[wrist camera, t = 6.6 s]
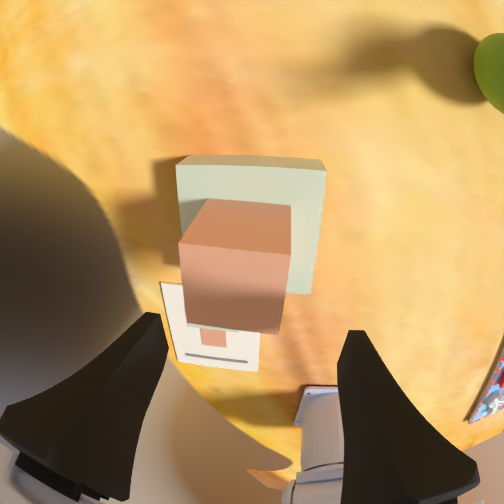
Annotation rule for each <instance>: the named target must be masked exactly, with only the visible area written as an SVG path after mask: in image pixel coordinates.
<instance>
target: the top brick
mask: <svg viewBox="0 0 504 504" xmlns="http://www.w3.org/2000/svg"><path fill="white" fill-rule="evenodd" d="M178 246H179V257H180V268H181V277H182V287H183V295H184V304H185V312H186V320H187V323H191V324H198V325H204V326H211V327H218V328H225V329H233V330H240V331H248V332H257V333H266V334H275V335H279V330H280V324H281V318H282V312H283V305H284V299H285V293H286V286H287V280H288V273H289V266H290V259H291V206H288V205H279V204H269V203H258V202H248V201H236V200H224V199H211V198H208V200H207V201H206V202H205V204H204V205H203V207H202V208H201V210H200V211H199V213H198V214H197V216H196V217H195V219H194V220H193V222H192V223H191V225H190V226H189V228H188V229H187V231H186V232H185V234H184V235H183V237H182V238H181V240H180V241H179V243H178Z"/></svg>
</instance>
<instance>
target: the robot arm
mask: <svg viewBox="0 0 504 504" xmlns="http://www.w3.org/2000/svg"><path fill="white" fill-rule="evenodd" d="M168 349H169V347H168V343H167V339H166V336H165V332H164V328H163V324H162V320H161V316H160V314H157V313H151V312H145V313H144V314H143V315H142V316H141V317H140V318H139V319H138V320H137V321H136V322H135V323H134V324H133V325H131V326H130V327H129V328H128V329H127V330H126V331H125V332H124V333H123V334H122V335H121V336H120V337H119V338H118V339H116V341H114V342H113V343H112V344H111V345H110V346H109V347H108V348H106V349H105V350H104V351H103V352H102V353H101V354H99V355H98V356H97V357H96V358H95V359H93V360H92V361H91V362H90V363H88V364H87V365H86V366H85V367H83V368H82V369H80V370H79V371H77V372H76V373H75V374H73V375H72V376H70V377H69V378H67V379H65V380H64V381H62V382H61V383H58V384H57V385H55V386H53V387H52V388H50V389H48V390H46V391H44V392H42V393H40V394H38V395H35V396H33V397H31V398H29V399H26V400H23V401H21V402H18V403H15V404H12V405H9V406H7V407H6V409H5V411H4V413H3V415H2V416H1V418H0V435H1V436H2V437H3V438H4V439H5V440H7V441H8V442H9V443H10V444H12V445H13V446H14V447H15V448H17V449H18V450H19V451H20V453H19V456H18V455H17V454H15V453H14V452H12V451H11V450H10V449H8V448H7V447H6V446H4V445H3V444H1V443H0V501H1V502H2V503H3V504H104V503H102V502H100V501H99V500H100V497H101V498H103V499H106V500H109V498H110V497H111V498H114V499H116V500H119V501H121V502H122V501H126V500H128V499H129V494H130V484H131V476H132V469H133V463H134V457H135V452H136V447H137V443H138V439H139V434H140V431H141V427H142V423H143V420H144V416H145V413H146V411H147V408H148V406H149V404H150V401H151V399H152V396H153V393H154V391H155V389H156V386H157V384H158V381H159V379H160V377H161V374H162V371H163V368H164V365H165V361H166V357H167V353H168ZM337 382H338V387H321V386H308V387H306V388H305V390H304V393H303V396H302V399H301V402H300V405H299V409H298V412H297V415H296V418H295V421H294V425H295V426H302V433H301V468H302V470H301V472H297V474H296V480H292V481H290V482H289V484H288V485H287V486H286V487H285V489H284V491H283V495H282V501H281V504H457V503H458V501H457V497H458V496H460V495H461V494H464V493H465V492H467V491H469V490H471V489H473V488H475V487H476V486H477V485H479V483H480V477H479V472H478V467H477V464H476V462H475V461H474V460H473V459H471V458H470V457H469V456H467V455H466V454H464V453H463V452H461V451H460V450H459V449H457V448H456V447H455V446H454V445H452V444H451V443H450V442H449V441H448V440H447V439H445V438H444V437H443V436H442V435H441V434H440V433H439V432H438V431H437V430H436V429H435V428H434V427H433V426H432V425H431V424H430V423H429V422H428V421H427V420H426V419H425V418H424V417H423V416H422V415H421V413H420V412H419V411H418V410H417V409H416V407H415V406H414V405H413V404H412V403H411V401H410V400H409V399H408V397H407V396H406V395H405V393H404V392H403V391H402V389H401V388H400V386H399V385H398V384H397V382H396V381H395V379H394V378H393V376H392V375H391V373H390V372H389V370H388V369H387V367H386V365H385V364H384V362H383V361H382V359H381V357H380V356H379V354H378V352H377V351H376V349H375V347H374V346H373V344H372V342H371V341H370V339H369V337H368V336H367V334H366V332H365V331H364V330H349V331H348V334H347V337H346V340H345V343H344V346H343V349H342V352H341V354H340V357H339V360H338V363H337ZM473 504H484V500H480V501H478V502H476V503H473Z"/></svg>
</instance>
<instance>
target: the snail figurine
mask: <svg viewBox="0 0 504 504" xmlns="http://www.w3.org/2000/svg"><path fill="white" fill-rule="evenodd" d="M473 69H474V74H475V78H476V81H477V84H478V86H479V88H480V90H481V92H482V93H483V95H484V96H485V97H486V99H487V100H488V101H489V102H490V103H491V104H492V105H493V106H494V107H495V108H496V109H497V110H499V111H500V112H502V113H503V114H504V33H496V34H492V35H489V36H487V37H485V38H484V39H483V40H482V41H481V42H480V43H479V44H478V46H477V48H476V50H475V53H474V58H473Z"/></svg>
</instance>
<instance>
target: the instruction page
mask: <svg viewBox="0 0 504 504" xmlns="http://www.w3.org/2000/svg"><path fill="white" fill-rule="evenodd" d="M161 287H162V292H163V297H164V302H165V307H166V312H167V316H168V321H169V325H170V329H171V334H172V338H173V342H174V346H175V350H176V354H177V358H178V362H184V363H191V364H197V365H204V366H211V367H219V368H227V369H235V370H245V371H255V372H258V361H259V345H260V333H257V332H248V331H240V330H233V329H225V328H218V327H211V326H204V325H198V324H191V323H187V320H186V312H185V304H184V295H183V287H182V284H177V283H168V282H161Z"/></svg>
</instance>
